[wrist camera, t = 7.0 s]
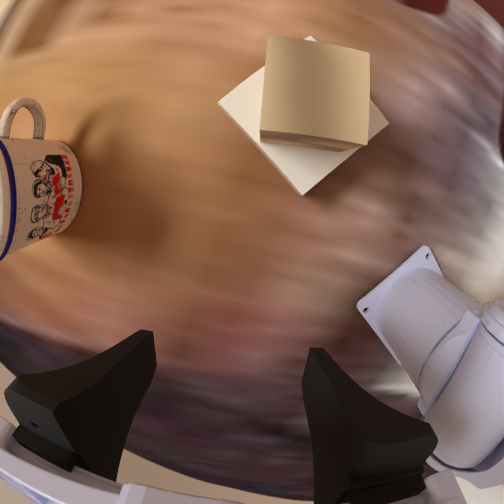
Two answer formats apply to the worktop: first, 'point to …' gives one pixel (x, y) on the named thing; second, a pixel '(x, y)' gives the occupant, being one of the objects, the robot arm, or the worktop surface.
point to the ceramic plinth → (287, 156)
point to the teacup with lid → (34, 183)
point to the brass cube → (315, 95)
